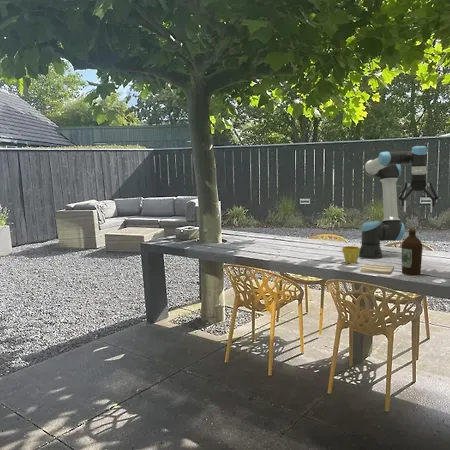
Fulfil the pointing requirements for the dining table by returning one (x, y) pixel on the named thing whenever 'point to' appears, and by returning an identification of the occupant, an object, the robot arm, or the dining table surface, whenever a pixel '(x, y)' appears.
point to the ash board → (377, 269)
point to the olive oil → (411, 254)
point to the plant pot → (351, 253)
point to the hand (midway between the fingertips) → (417, 212)
